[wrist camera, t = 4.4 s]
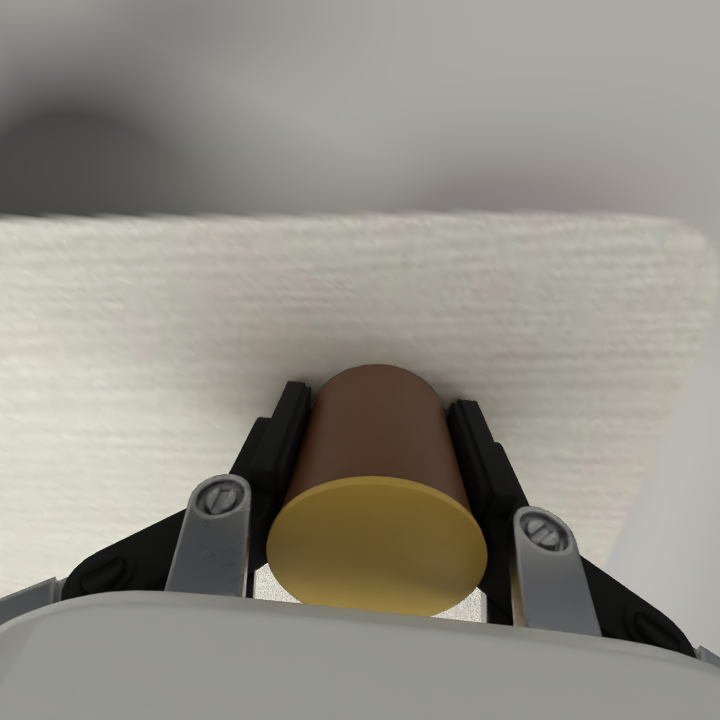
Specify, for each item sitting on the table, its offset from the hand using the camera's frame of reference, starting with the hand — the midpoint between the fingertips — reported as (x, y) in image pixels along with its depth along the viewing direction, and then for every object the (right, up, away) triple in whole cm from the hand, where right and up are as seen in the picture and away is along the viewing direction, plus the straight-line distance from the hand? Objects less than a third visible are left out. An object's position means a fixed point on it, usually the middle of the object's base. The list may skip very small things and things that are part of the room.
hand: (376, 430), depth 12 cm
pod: (0, 0, 0) cm, 0 cm away
